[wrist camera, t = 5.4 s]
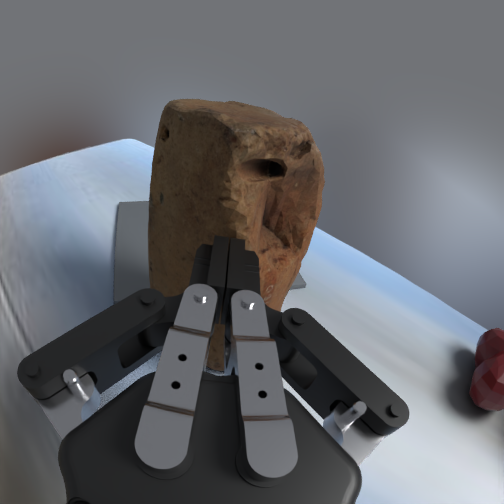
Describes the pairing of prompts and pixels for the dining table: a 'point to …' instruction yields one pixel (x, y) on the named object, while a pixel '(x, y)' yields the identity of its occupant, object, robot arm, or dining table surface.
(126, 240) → the mat
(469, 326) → the dining table surface
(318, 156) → the block
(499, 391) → the heart
